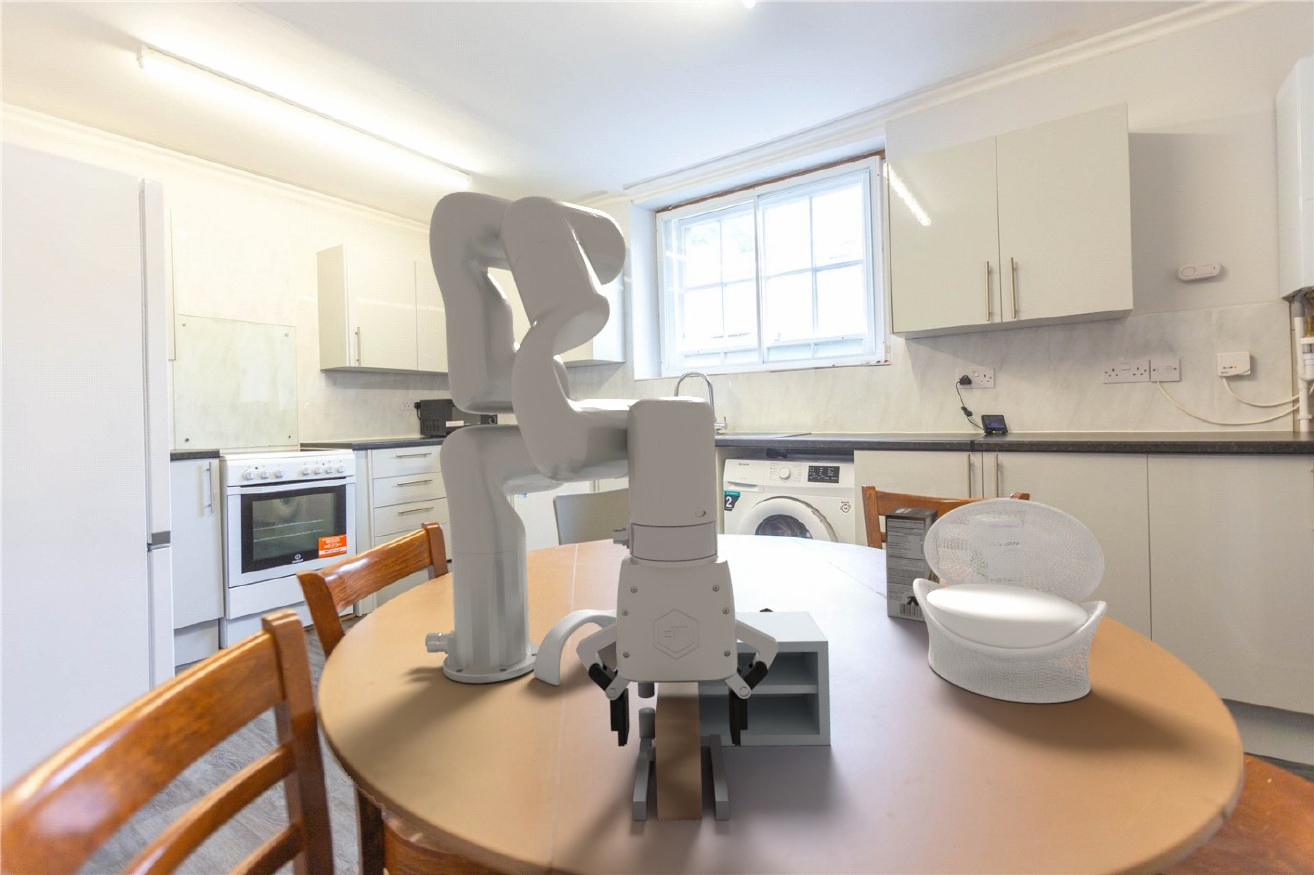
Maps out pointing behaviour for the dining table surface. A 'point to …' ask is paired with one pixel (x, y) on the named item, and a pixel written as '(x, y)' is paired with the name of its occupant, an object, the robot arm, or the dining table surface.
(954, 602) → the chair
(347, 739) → the dining table surface
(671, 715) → the door
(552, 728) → the dining table surface
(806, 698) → the cabinet
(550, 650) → the spoon rest
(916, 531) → the coffee box
